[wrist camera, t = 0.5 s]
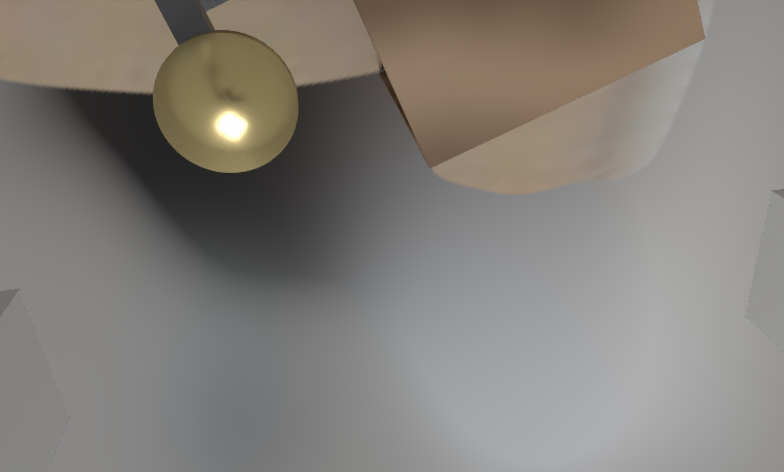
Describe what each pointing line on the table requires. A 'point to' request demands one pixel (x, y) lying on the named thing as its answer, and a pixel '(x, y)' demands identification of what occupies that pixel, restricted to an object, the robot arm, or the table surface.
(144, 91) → the table surface
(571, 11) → the cover
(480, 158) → the table surface
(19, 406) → the robot arm
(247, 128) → the balance
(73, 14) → the table surface
